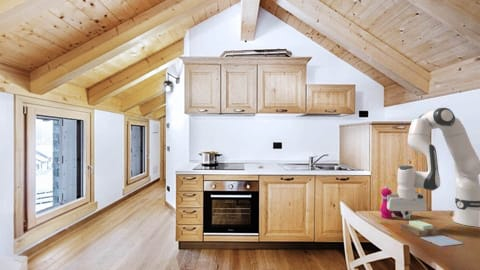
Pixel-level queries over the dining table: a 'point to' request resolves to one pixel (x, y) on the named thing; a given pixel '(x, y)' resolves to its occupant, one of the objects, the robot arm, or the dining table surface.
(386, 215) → the pepper mill
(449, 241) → the mat
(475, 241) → the dining table surface
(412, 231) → the deck
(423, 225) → the pale green flat block
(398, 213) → the vase
